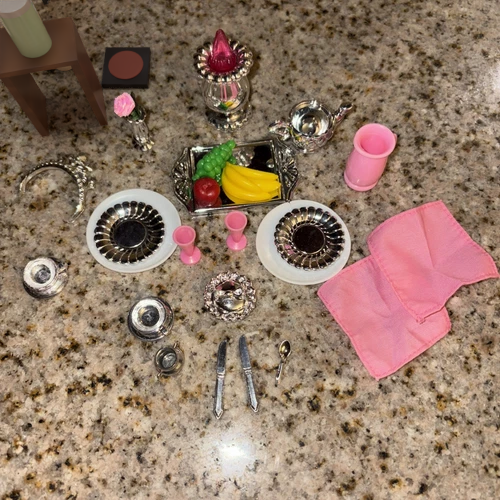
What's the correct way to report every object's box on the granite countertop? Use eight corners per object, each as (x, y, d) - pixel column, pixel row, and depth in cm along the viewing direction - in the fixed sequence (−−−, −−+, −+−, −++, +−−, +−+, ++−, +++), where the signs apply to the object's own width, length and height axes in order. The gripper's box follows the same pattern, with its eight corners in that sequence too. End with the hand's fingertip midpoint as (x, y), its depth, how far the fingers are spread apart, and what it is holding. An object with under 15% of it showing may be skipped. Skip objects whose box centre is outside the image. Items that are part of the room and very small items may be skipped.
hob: (103, 88, 108) (100, 83, 106) (107, 51, 111) (105, 46, 110) (148, 88, 108) (146, 83, 107) (151, 51, 111) (149, 46, 110)
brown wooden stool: (41, 137, 104) (-4, 74, 85) (38, 98, 107) (-7, 29, 88) (107, 124, 105) (77, 59, 86) (102, 87, 108) (71, 16, 89)
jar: (14, 58, 86) (-15, 12, 77) (19, 30, 88) (-8, -18, 79) (50, 58, 86) (25, 12, 77) (54, 30, 88) (30, -18, 79)
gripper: (-40, -78, 84) (-37, -7, 78) (44, -91, 85) (53, -22, 80) (-18, -39, 91) (-14, 29, 85) (60, -51, 92) (68, 15, 87)
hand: (18, 4), depth 82 cm, fingers open, 8 cm apart
